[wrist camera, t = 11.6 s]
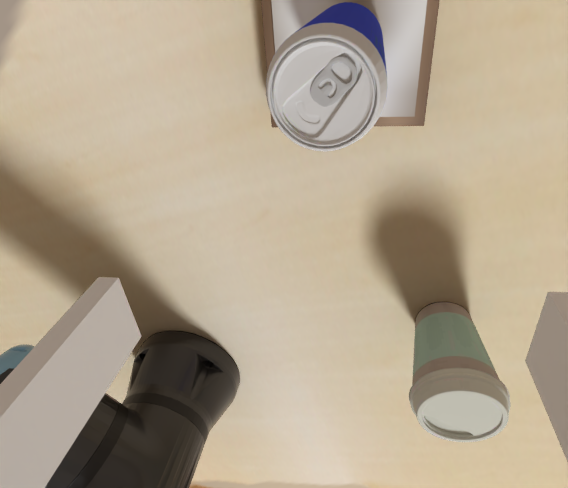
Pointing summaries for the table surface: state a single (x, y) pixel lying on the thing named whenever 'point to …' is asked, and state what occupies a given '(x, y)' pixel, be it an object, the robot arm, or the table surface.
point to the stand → (397, 46)
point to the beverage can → (329, 79)
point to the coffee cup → (455, 378)
